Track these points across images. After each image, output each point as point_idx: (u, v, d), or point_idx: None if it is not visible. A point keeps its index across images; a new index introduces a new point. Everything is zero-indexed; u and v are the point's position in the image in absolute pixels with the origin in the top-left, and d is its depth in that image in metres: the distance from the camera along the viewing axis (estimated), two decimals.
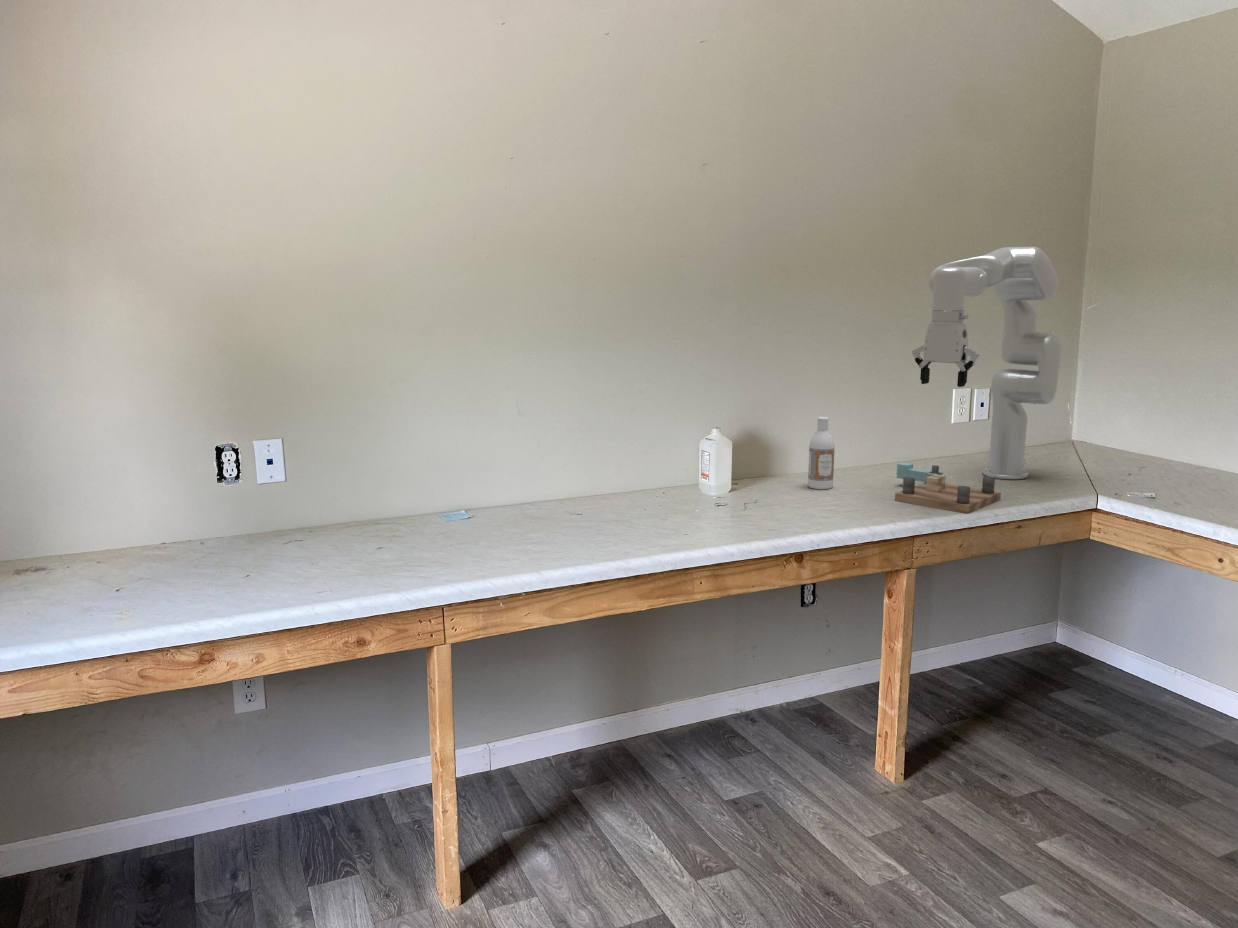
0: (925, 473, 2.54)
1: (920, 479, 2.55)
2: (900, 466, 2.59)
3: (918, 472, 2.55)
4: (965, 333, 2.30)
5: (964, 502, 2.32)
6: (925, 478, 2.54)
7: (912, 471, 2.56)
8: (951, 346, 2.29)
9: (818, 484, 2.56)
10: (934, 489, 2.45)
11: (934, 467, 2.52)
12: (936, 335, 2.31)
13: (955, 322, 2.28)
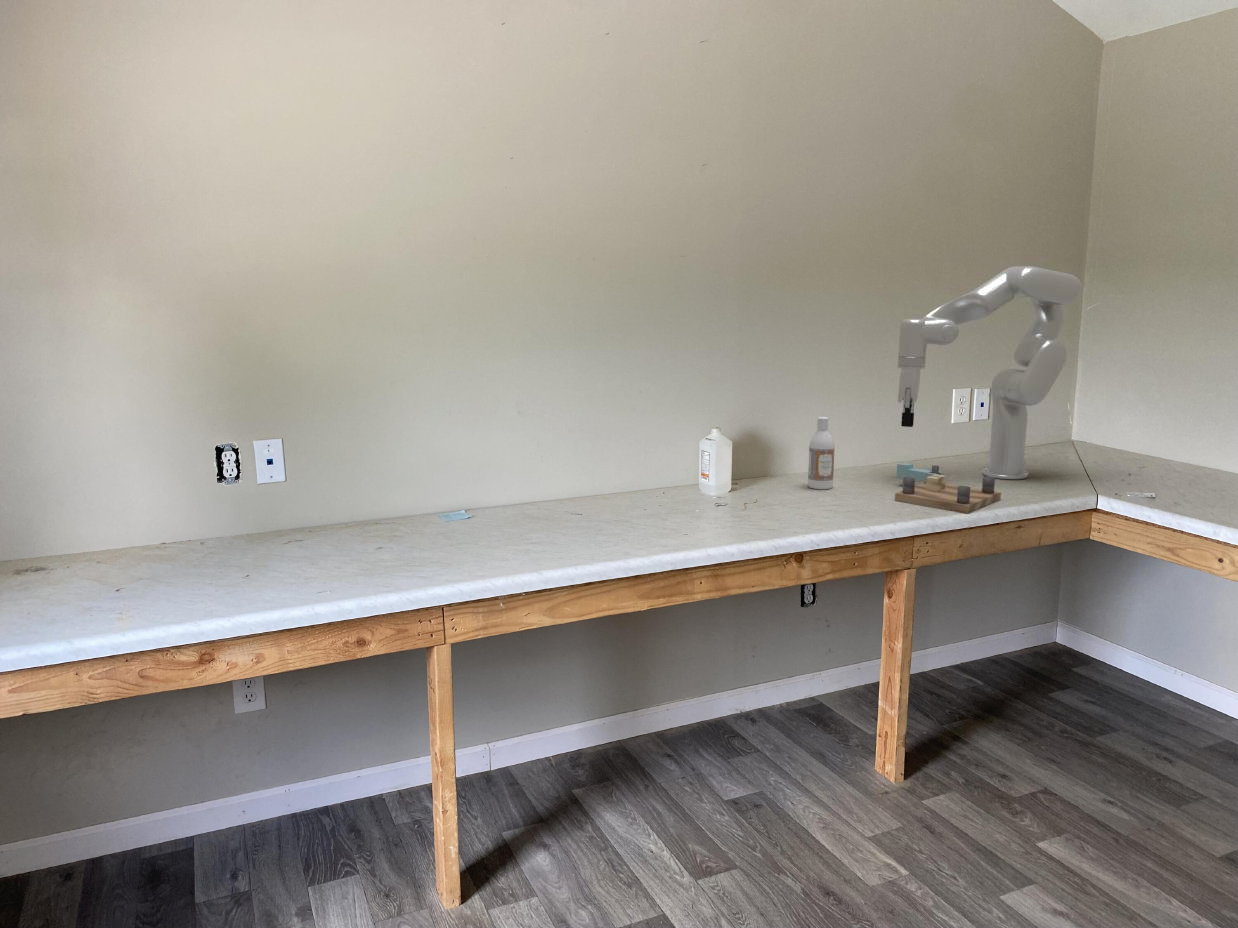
0: (925, 473, 2.54)
1: (920, 479, 2.55)
2: (900, 466, 2.59)
3: (918, 472, 2.55)
4: None
5: (964, 502, 2.32)
6: (925, 478, 2.54)
7: (912, 471, 2.56)
8: None
9: (818, 484, 2.56)
10: (934, 489, 2.45)
11: (934, 467, 2.52)
12: (919, 378, 2.59)
13: None
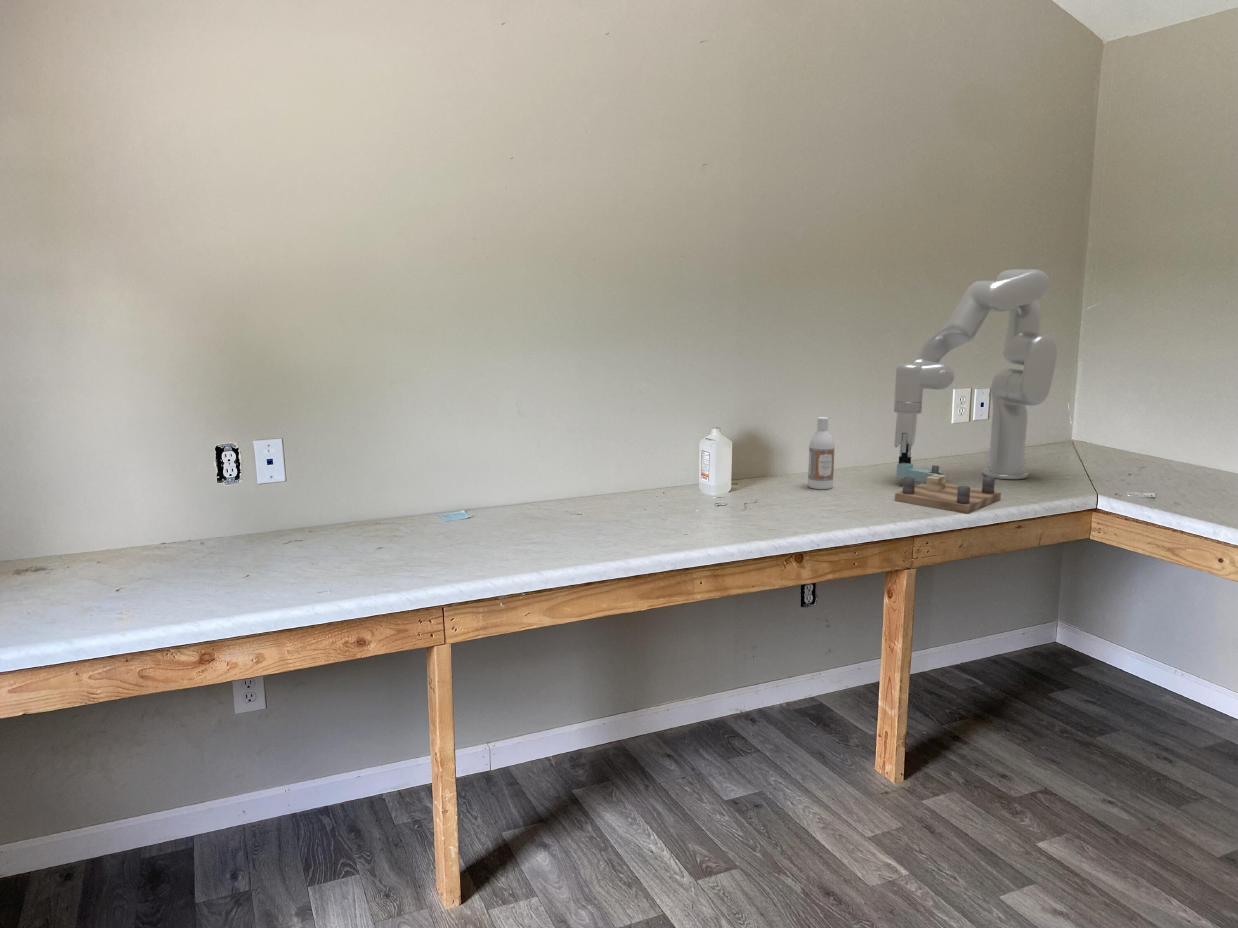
0: (925, 473, 2.54)
1: (920, 479, 2.55)
2: (899, 466, 2.59)
3: (918, 472, 2.55)
4: None
5: (964, 502, 2.32)
6: (925, 478, 2.54)
7: (912, 471, 2.56)
8: None
9: (818, 484, 2.56)
10: (934, 489, 2.45)
11: (934, 467, 2.52)
12: (915, 423, 2.59)
13: None
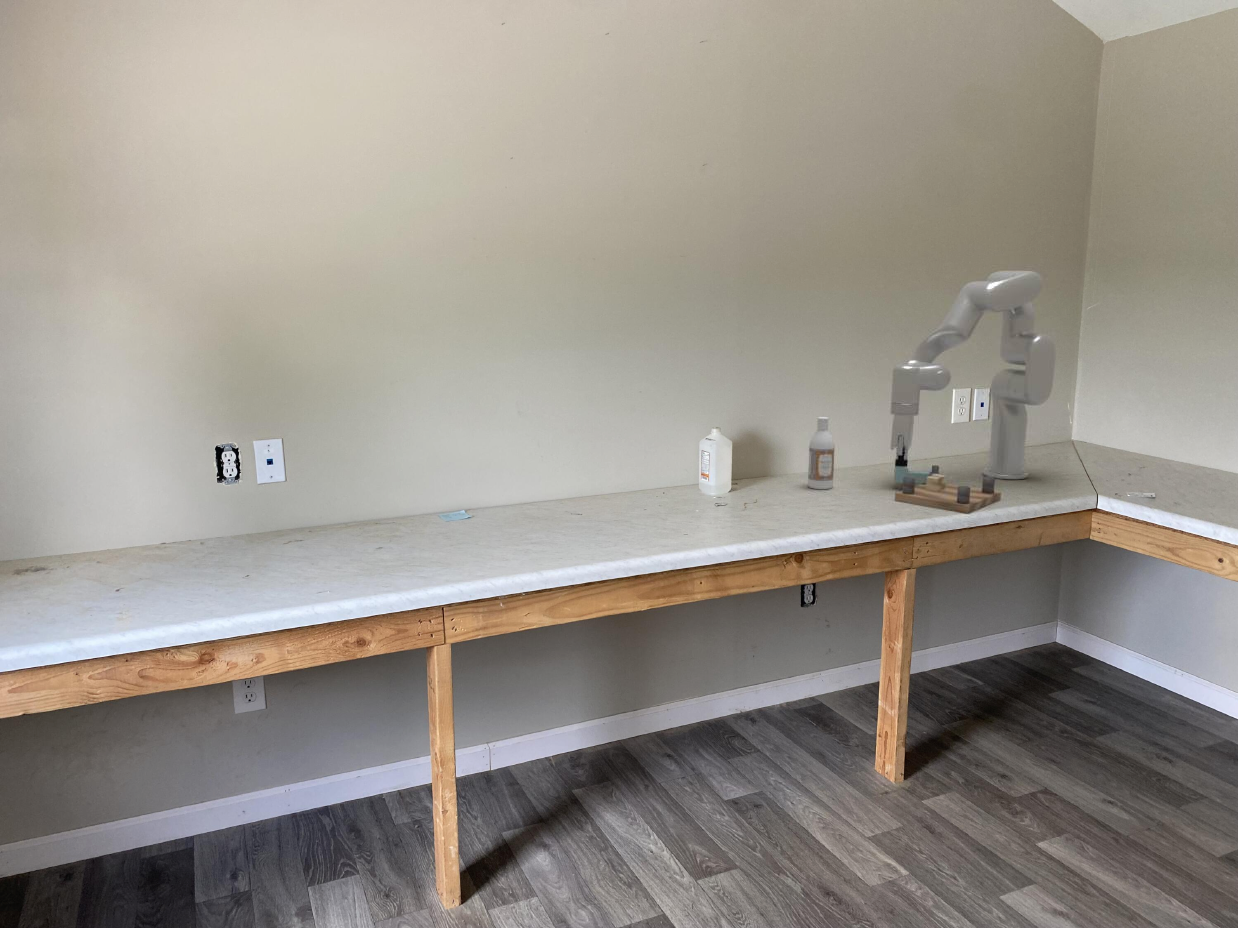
0: (927, 474, 2.52)
1: (922, 481, 2.53)
2: (899, 470, 2.54)
3: (919, 474, 2.53)
4: None
5: (964, 502, 2.32)
6: None
7: (912, 474, 2.53)
8: None
9: (818, 484, 2.56)
10: (934, 489, 2.45)
11: (934, 467, 2.52)
12: (912, 425, 2.54)
13: None
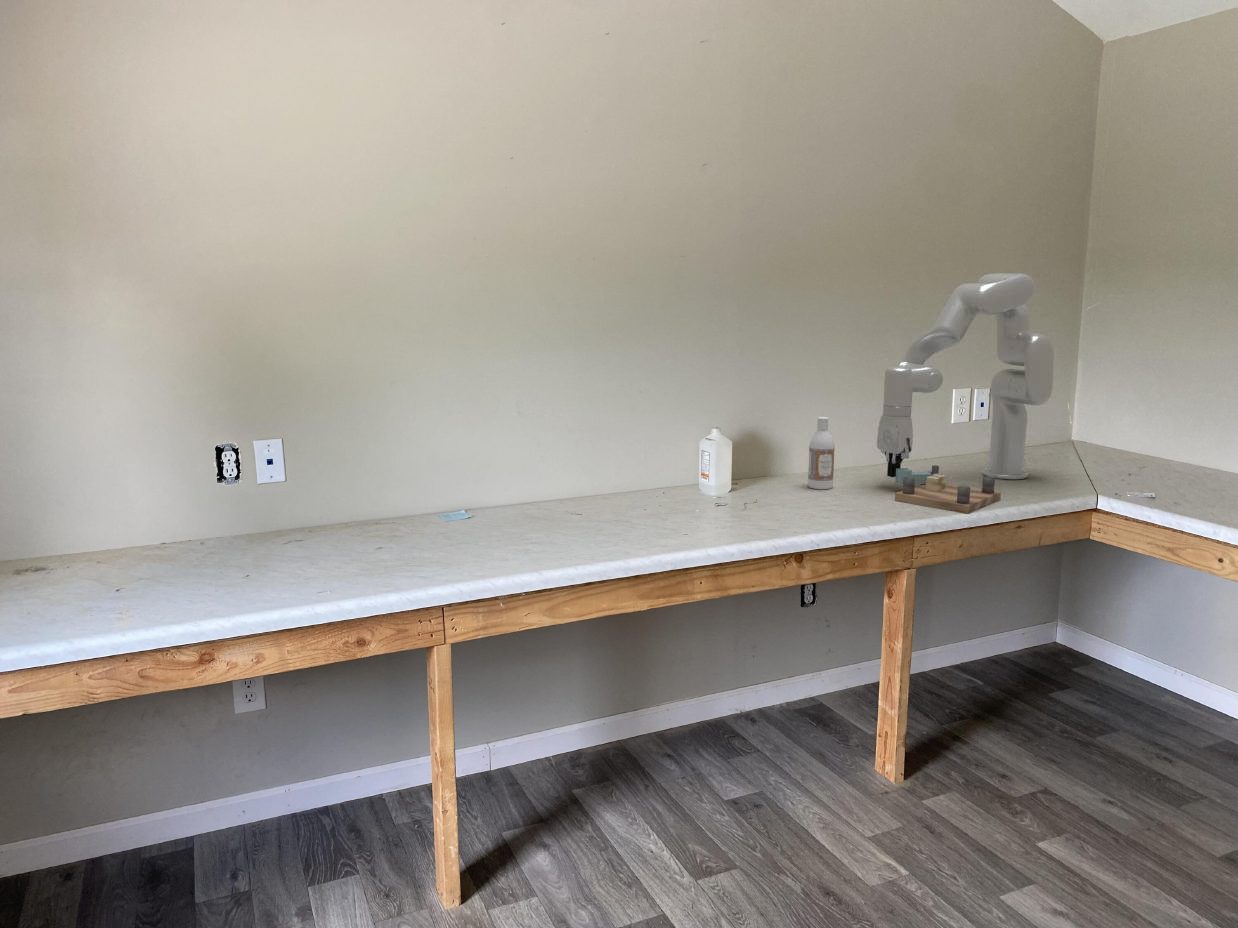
0: (929, 475, 2.52)
1: (924, 482, 2.52)
2: (903, 472, 2.51)
3: (922, 475, 2.52)
4: None
5: (964, 502, 2.32)
6: None
7: (916, 475, 2.51)
8: None
9: (818, 484, 2.56)
10: (934, 489, 2.45)
11: (934, 467, 2.52)
12: None
13: None
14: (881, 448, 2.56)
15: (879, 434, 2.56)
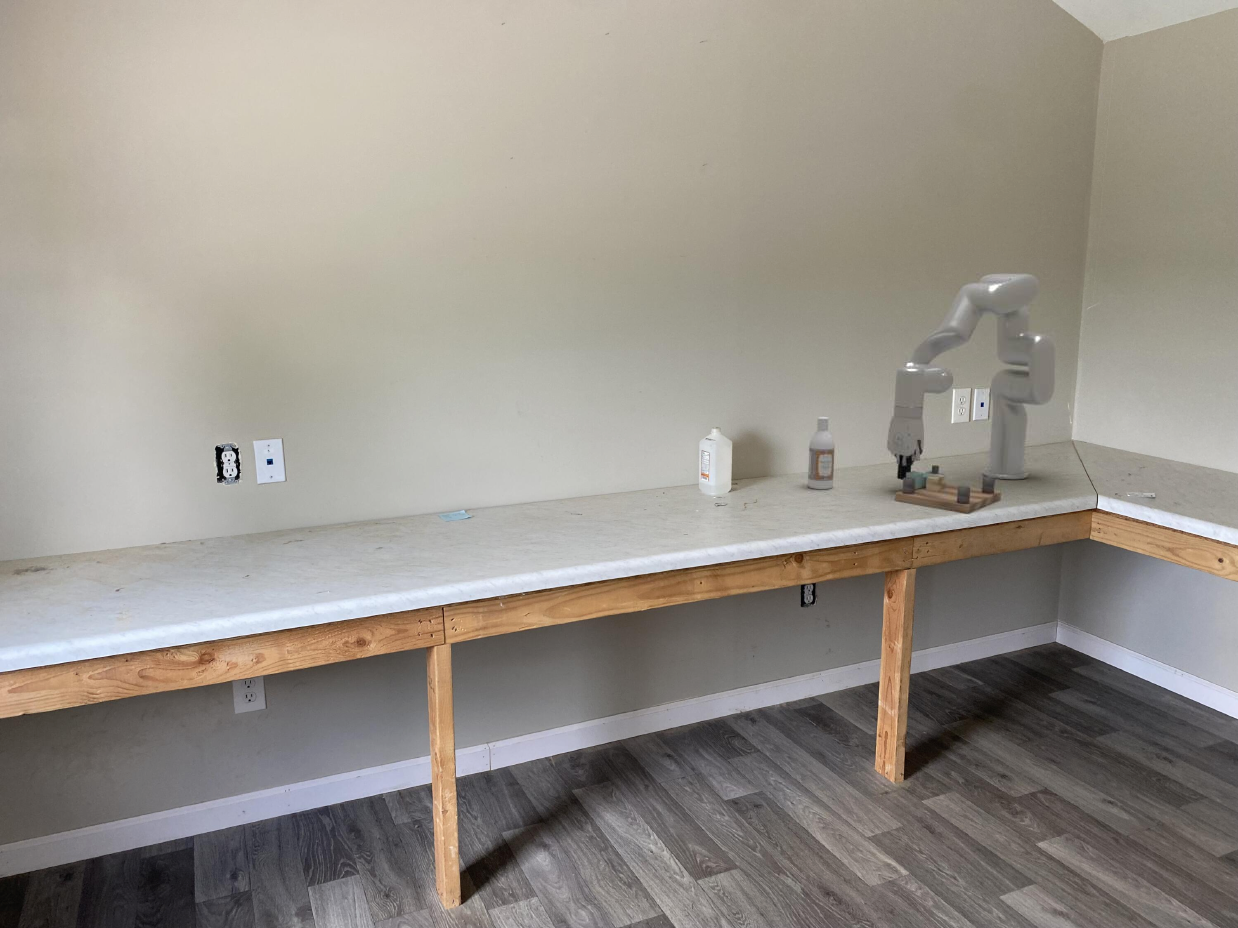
0: None
1: None
2: (918, 476, 2.46)
3: None
4: None
5: (964, 502, 2.32)
6: None
7: (925, 477, 2.49)
8: None
9: (818, 484, 2.56)
10: (934, 489, 2.45)
11: (934, 467, 2.52)
12: None
13: None
14: (891, 450, 2.51)
15: (890, 436, 2.51)
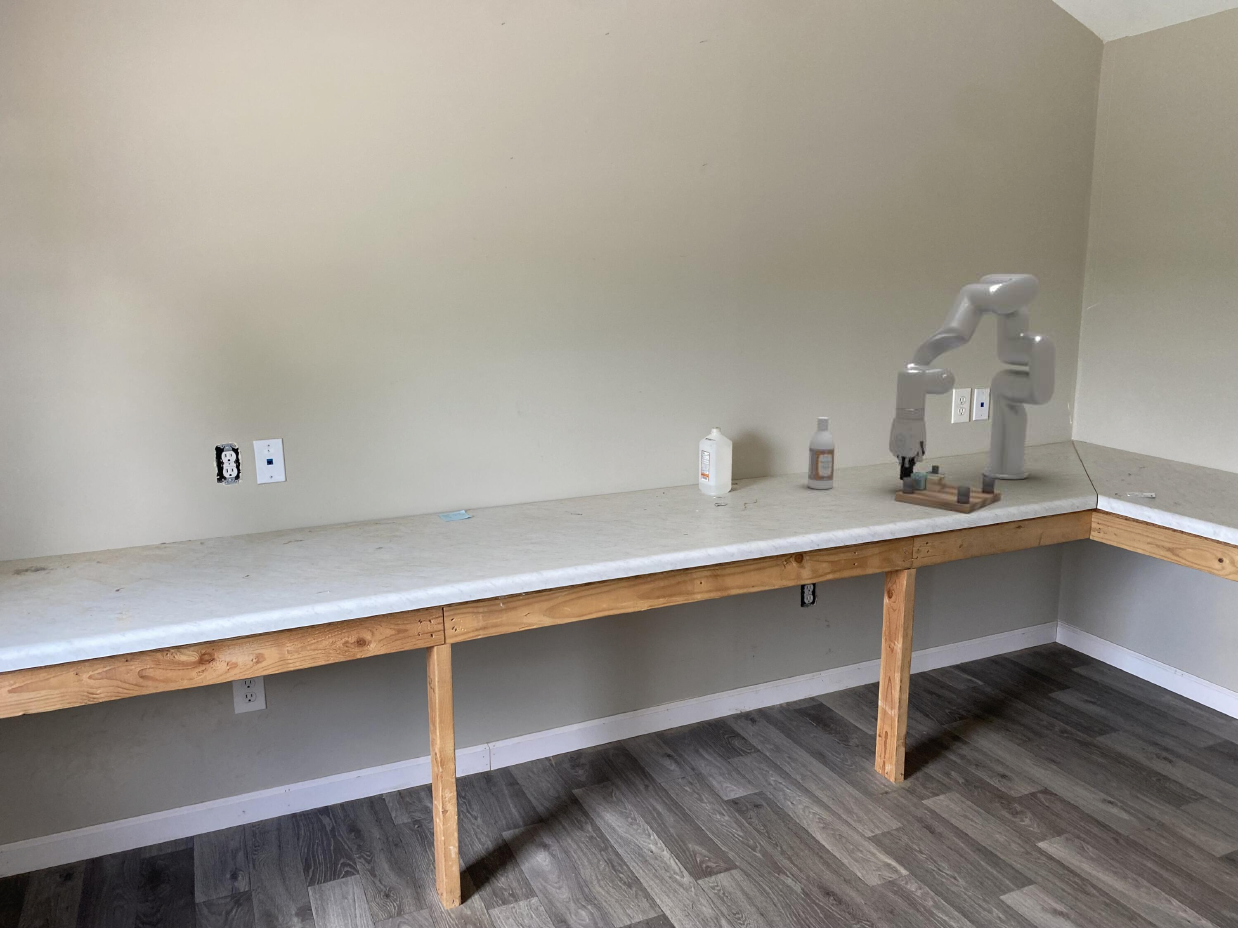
0: None
1: None
2: (923, 477, 2.45)
3: None
4: None
5: (964, 502, 2.32)
6: None
7: None
8: None
9: (818, 484, 2.56)
10: (934, 489, 2.45)
11: (934, 467, 2.52)
12: None
13: None
14: (893, 451, 2.51)
15: (892, 437, 2.51)
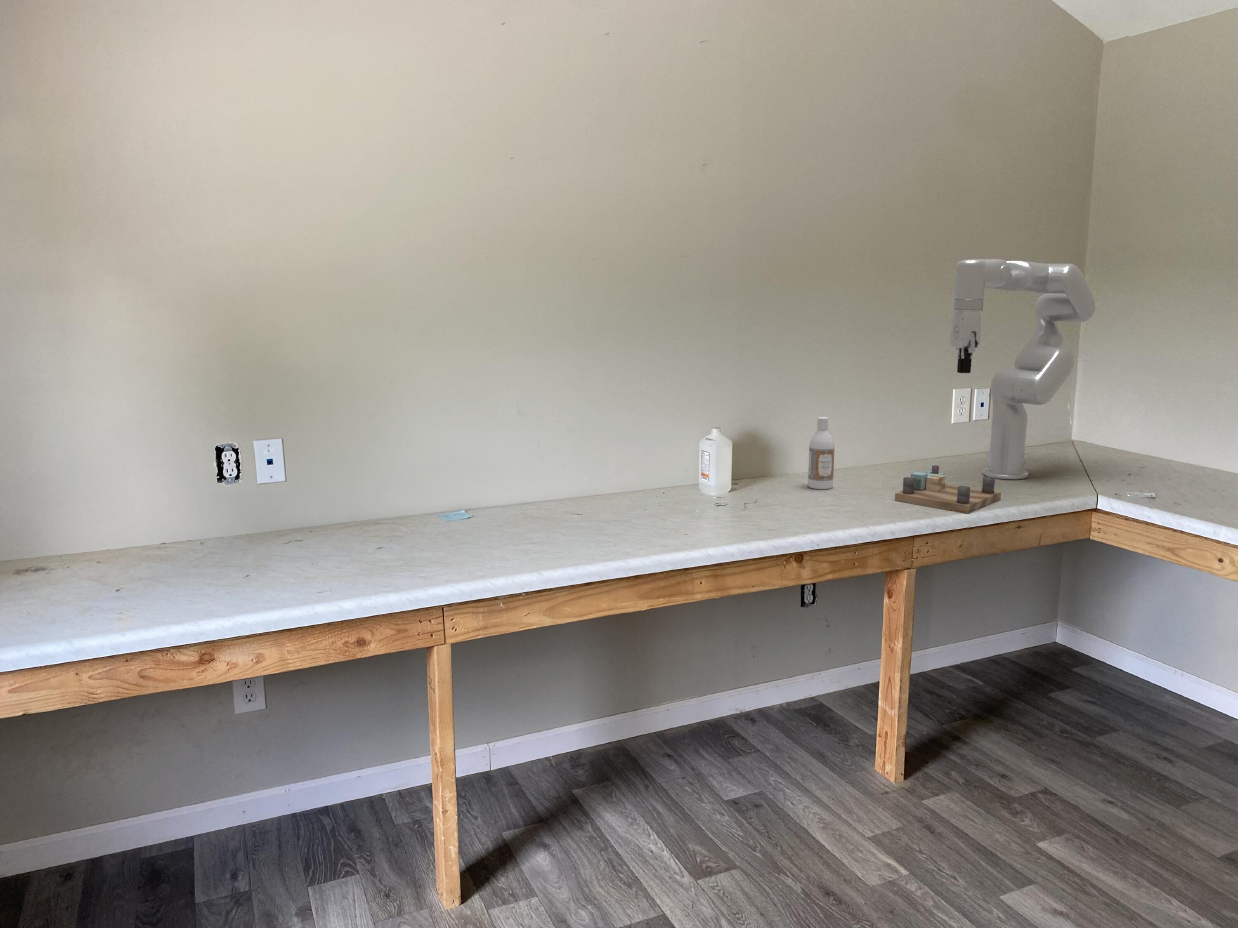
0: None
1: None
2: (923, 477, 2.45)
3: None
4: None
5: (964, 502, 2.32)
6: None
7: None
8: None
9: (818, 484, 2.56)
10: (934, 489, 2.45)
11: (934, 467, 2.52)
12: None
13: None
14: (952, 344, 2.55)
15: (952, 330, 2.55)
